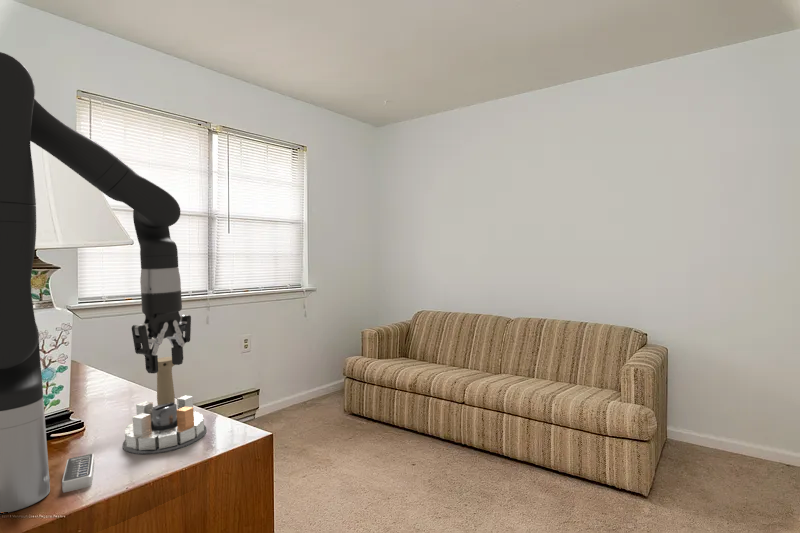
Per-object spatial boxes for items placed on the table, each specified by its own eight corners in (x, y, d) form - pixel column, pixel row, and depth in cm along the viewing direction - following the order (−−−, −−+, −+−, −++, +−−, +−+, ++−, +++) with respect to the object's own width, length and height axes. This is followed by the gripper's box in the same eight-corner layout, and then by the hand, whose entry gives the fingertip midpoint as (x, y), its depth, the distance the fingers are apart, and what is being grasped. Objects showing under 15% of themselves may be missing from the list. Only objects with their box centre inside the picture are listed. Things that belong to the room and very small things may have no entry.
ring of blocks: (152, 460, 96) (150, 425, 95) (106, 444, 104) (104, 411, 104) (222, 430, 110) (220, 399, 110) (176, 418, 119) (175, 389, 118)
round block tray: (153, 455, 96) (151, 424, 96) (110, 440, 104) (108, 412, 104) (218, 427, 110) (216, 400, 110) (176, 416, 118) (174, 391, 118)
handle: (152, 417, 120) (148, 359, 119) (179, 412, 123) (176, 355, 122) (153, 423, 116) (150, 363, 115) (182, 418, 119) (178, 359, 118)
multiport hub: (62, 494, 84) (61, 482, 84) (68, 469, 94) (67, 458, 93) (91, 487, 86) (91, 475, 86) (94, 464, 96) (94, 452, 96)
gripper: (147, 294, 91) (152, 379, 92) (200, 286, 105) (203, 360, 106) (117, 293, 93) (122, 377, 94) (172, 286, 107) (176, 359, 108)
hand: (165, 368), depth 100 cm, fingers open, 6 cm apart
